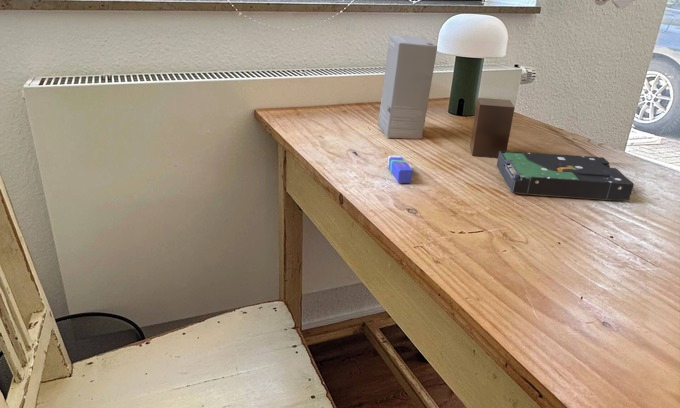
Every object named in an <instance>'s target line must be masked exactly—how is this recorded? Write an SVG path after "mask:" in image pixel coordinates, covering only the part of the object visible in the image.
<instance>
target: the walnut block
mask: <svg viewBox="0 0 680 408" xmlns="http://www.w3.org/2000/svg"><path fill="white" fill-rule="evenodd" d="M514 113H515V106H514V104H513V102H512V100H510V99H502V98H491V97H489V98H488V97H477V99H476V103H475V109H474V117H473V124H472V131H471V137H470V144H469V148H470V152H471V156H473V157H484V158H494V159H498V155H499V151H508V146H509V141H510V135H511V129H512V124H513V119H514Z"/></svg>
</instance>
